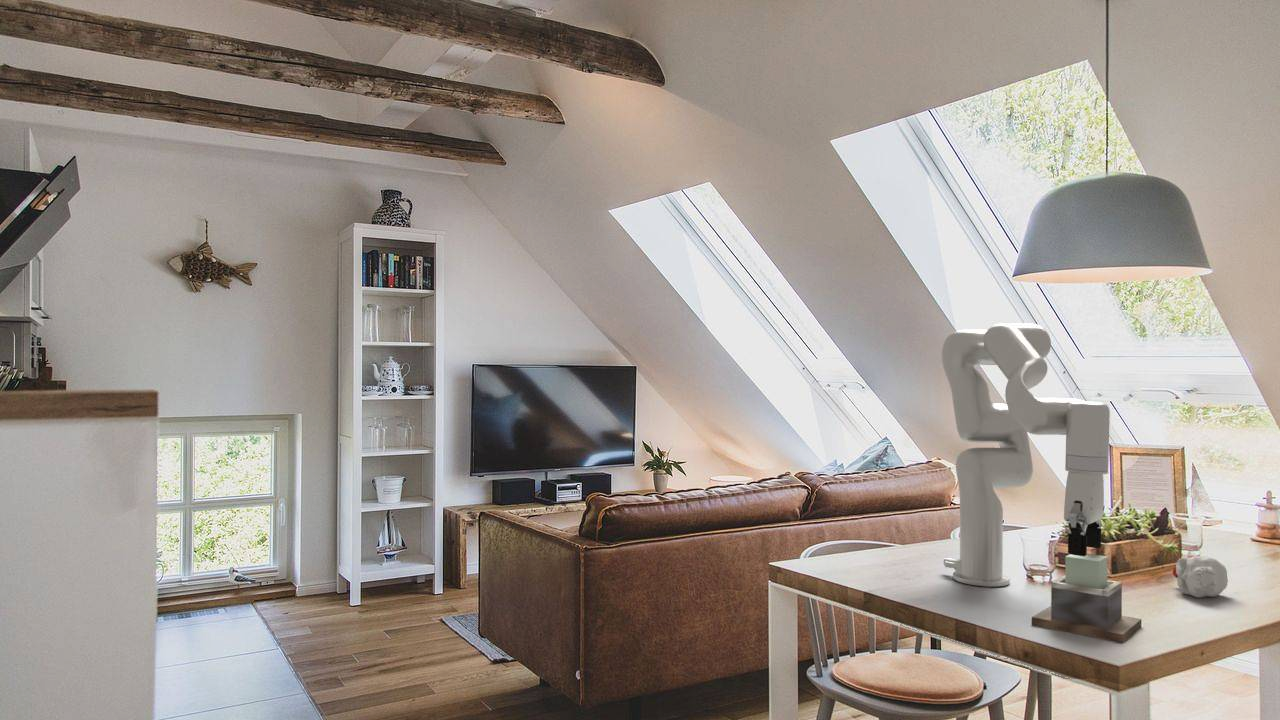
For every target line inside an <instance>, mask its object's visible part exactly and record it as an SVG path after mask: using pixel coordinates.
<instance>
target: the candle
mask: <svg viewBox="0 0 1280 720" xmlns="http://www.w3.org/2000/svg"><path fill="white" fill-rule="evenodd" d="M1172 575H1173V576H1174V577H1175V578H1176V581H1177V583H1176V584H1177V586H1178V589H1179V590H1180V592H1181V593H1183V594H1185V595H1189V596H1192V597H1194V598H1197V599H1200V598H1210V597H1211V598H1212V597H1213V598H1214V597H1216V596H1219V595H1220V594H1222V593H1223V592H1224V590H1225V589H1227V587H1228V582H1229V580H1228V578H1229V577H1228V570H1227V568H1226V566H1225V565H1224V564H1223V563H1221V562H1220V561H1219V560H1217V559H1215V558H1213V557H1208V556H1195V555H1193V556H1192V555H1191V556H1188V557H1181V558H1179V559H1178V560H1177V562H1176V565H1175V566H1174V568H1173V571H1172Z"/></svg>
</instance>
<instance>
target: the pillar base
mask: <svg viewBox="0 0 1280 720" xmlns="http://www.w3.org/2000/svg"><path fill="white" fill-rule="evenodd" d="M1050 589H1051V591H1050V592H1051V594H1050V596H1051V597H1050V599H1051V601H1050V602H1051V603H1050V605H1049V606H1048V607H1046V608H1045V609H1043V610H1041V611H1039V612H1037V613H1036V614H1034V615H1033V616H1031V625H1033V626H1038V627H1041V628H1047V629H1052V630H1057V631H1062V632H1067V633H1073V634H1076V635H1083V636H1088V637H1091V638H1092V637H1093V638H1098V639H1103V640H1107V641H1113V642H1118V643H1121V644H1122V643H1124V642H1125V641H1127V640H1128V639H1129V638H1130V637H1131V636H1132V635H1134V634H1135V633H1136V632H1137V631H1138V630H1139V629H1141V628H1142V618H1138V617H1133V616H1132V617H1130V616H1127V615H1123V614H1122V610H1123V605H1122V603H1123V602H1122V601H1123V600H1122V599H1123V597H1122V596H1123V595H1122V594H1123V592H1122V590H1123V582H1121V581H1115V580H1108V579H1107V588H1105V589H1097V588H1091V587H1085V586H1079V585H1073V584H1067V583H1065V574H1064V575H1062V576H1060V577H1058V578H1056V579H1055V580H1053V581H1051V587H1050Z"/></svg>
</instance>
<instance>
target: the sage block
mask: <svg viewBox="0 0 1280 720" xmlns="http://www.w3.org/2000/svg"><path fill="white" fill-rule="evenodd" d="M1064 558H1065V559H1064V560H1065V561H1064V562H1065V573H1064V575H1065V583H1067V584H1073V585H1079V586H1085V587H1091V588H1097V589H1105V588H1107V580H1108V555H1107V556H1104V555H1099V554H1092V553H1091V554H1090V553H1087V555H1086V556H1078V555H1072V554H1069V553H1068V555H1066V556H1065V557H1064Z"/></svg>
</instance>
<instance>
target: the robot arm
mask: <svg viewBox="0 0 1280 720" xmlns="http://www.w3.org/2000/svg"><path fill="white" fill-rule="evenodd" d="M1050 336H1051V335H1050V334H1049V333H1048V331H1047V330H1046V329H1045V328H1044V327H1042V326H1040V325H1039V324H1035V323H1013V322H1012V323H1009V322H1008V323H998V324H994V325H993V326H991V327H989V328H988V329H962V330H957V331H954V332H952V333H950V334H949V335H948V336H947V337H946V338H945V339H944V343H943V345H942V348H941V349H942V350H941V351H942V352H941V361H942V366H943V370H944V373H945V376H946V378H947V381H948V384H949V386H950V390H951V391H950V392H951V396H952V405H953V410H954V417H955V425H956V429H957V433H958V436H959V437H960V439H961V440H963V441H964V442H968V443H975V444H977V443H978V444H979V443H980V444H982V443H983V444H987V443H992V444H994V443H995V444H996V443H997V444H998V445H999V447H972V448H967V449H965V450H963V451H962V452H960V453H959V454H958V456H957V458H956V461H955V471H956V472H955V473H956V478H957V483H958V489H959V490H958V491H959V558H957V559H953V558H949V557H945V558H944V559H943V565H944V568H951V569H954V570H955V571H954V572H953V573H952V579H953V580H955V581H956V582H958V583H962V584H966V585H970V586H978V587H988V588H989V587H992V588H994V587H1005V586H1008V585H1009V584H1010V580H1011V578H1010V577H1008V576H1007V575H1005V574H1003V565H1004V564H1003V558H1004V557H1003V552H1004V551H1003V549H1004V547H1003V546H1004V545H1003V541H1004V538H1003V536H1004V535H1003V534H1004V532H1003V531H1004V529H1003V528H1004V521H1003V520H1004V517H1003V515H1004V511H1003V510H1004V509H1003V505H1002V504H1003V503H1002V502H1001V500H1000V498H999V496H998V495H997V493H996V492H995V490H994V489H998V488H999V489H1002V488H1005V489H1007V488H1022V487H1025V486H1026V485H1028V484H1029V483H1030V482H1031V480H1032V477H1033V472H1034V469H1033V467H1034V466H1033V460H1032V452H1031V447H1030V440H1029V434H1032V435H1036V436H1037V435H1039V436H1041V435H1042V436H1043V435H1044V436H1046V435H1047V436H1048V435H1049V436H1052V435H1053V436H1055V435H1056V436H1058V435H1059V436H1065V468H1064V469H1065V471H1066V472H1067V477H1066V481H1065V482H1066V483H1065V484H1066V485H1065V493H1064V506H1063V520H1064V521H1065V522H1066V523H1068V531H1067V532H1068V533H1067V536H1068V538H1067V553H1068V555H1069V554H1072V555H1078V556H1086V555H1087V554H1088V552H1087V550H1088V549H1087V548H1094V549H1100V548H1101V547H1102V520H1101V519H1102V518H1103V515H1104V507H1105V506H1104V505H1105V503H1104V502H1105V501H1104V499H1105V495H1104V493H1105V492H1104V490H1105V487H1104V486H1105V485H1104V484H1105V483H1104V482H1105V481H1104V480H1105V479H1104V475H1108V474H1109V462H1110V461H1109V459H1110V457H1109V456H1110V454H1109V453H1110V452H1109V451H1110V418H1111V416H1110V415H1111V413H1110V408H1109V406H1108V404H1106V403H1104V402H1100V401H1086V400H1083V399H1080V398H1071V397H1070V398H1069V397H1068V398H1066V397H1065V398H1062V397H1060V398H1059V397H1036V396H1035V395H1034V394H1033V393H1032V391H1030V389H1033V388H1034V387H1036V386H1038V385H1039V384H1040V383H1041V382H1042V381H1043V380H1044V378H1045V377H1046V375H1047V374H1048V369H1049V367H1048V364H1047V362H1046V360H1045V358H1046V357H1047V356H1048V355H1049V353H1050V351H1051V348H1052V342H1051V341H1052V340H1051V337H1050ZM975 365H977V366H978V365H979V366H981V365H982V366H997V367H998V368H999V370H1000V371H1001V372H1002V374H1003V375H1004V377H1005V378H1006V379H1007V383H1006V386H1005V394H1004V395H1005V403H993V402H992V400H991V396H990V390H989V385H988V383H987V381H986V380H985V378H984V377H983V375H982V374H981V372H980V371H979V370H978V369H976V368H975ZM1028 433H1029V434H1028Z"/></svg>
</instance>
